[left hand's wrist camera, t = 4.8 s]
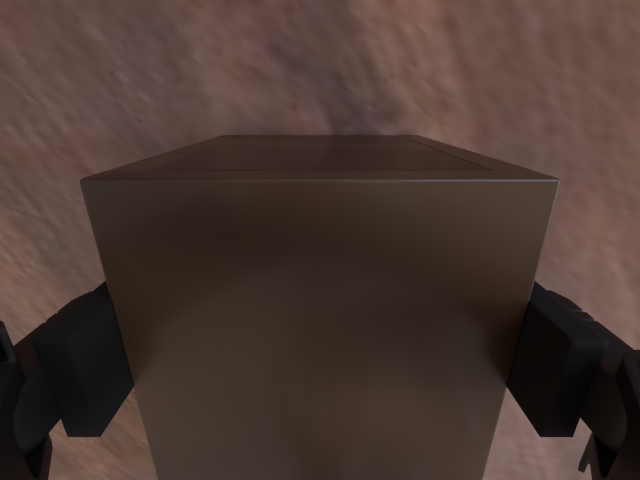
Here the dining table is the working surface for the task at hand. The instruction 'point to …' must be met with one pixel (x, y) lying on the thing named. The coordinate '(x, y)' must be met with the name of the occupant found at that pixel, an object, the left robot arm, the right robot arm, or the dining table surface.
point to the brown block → (320, 302)
